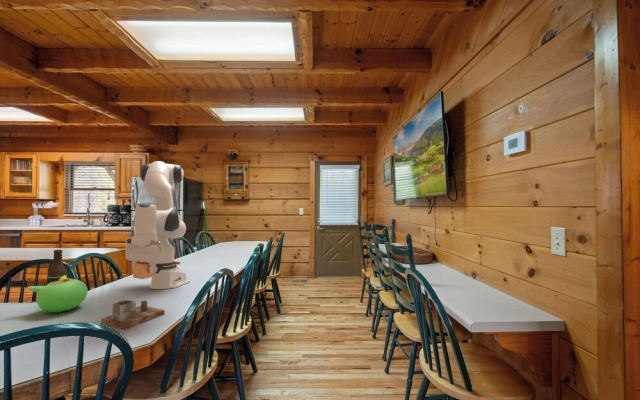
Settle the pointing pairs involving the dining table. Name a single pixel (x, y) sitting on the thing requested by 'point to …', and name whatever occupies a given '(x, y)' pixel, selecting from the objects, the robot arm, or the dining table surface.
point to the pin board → (130, 314)
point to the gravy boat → (60, 294)
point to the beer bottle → (56, 267)
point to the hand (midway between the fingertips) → (144, 272)
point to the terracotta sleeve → (142, 270)
